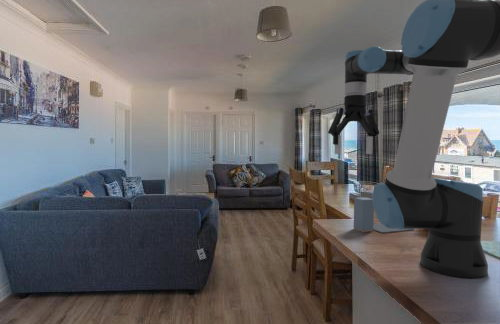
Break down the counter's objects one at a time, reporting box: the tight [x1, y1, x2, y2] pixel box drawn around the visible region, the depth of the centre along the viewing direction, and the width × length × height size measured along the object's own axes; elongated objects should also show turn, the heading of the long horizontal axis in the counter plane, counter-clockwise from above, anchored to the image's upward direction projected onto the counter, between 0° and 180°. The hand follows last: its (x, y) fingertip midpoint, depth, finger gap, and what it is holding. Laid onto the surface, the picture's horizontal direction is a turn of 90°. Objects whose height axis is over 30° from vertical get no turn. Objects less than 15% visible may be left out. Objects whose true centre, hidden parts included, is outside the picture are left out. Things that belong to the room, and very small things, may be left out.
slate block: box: [353, 196, 375, 233], centre depth 124 cm, size 5×5×12 cm
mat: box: [373, 222, 415, 234], centre depth 128 cm, size 15×12×1 cm
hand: (353, 154), depth 120 cm, fingers open, 13 cm apart
